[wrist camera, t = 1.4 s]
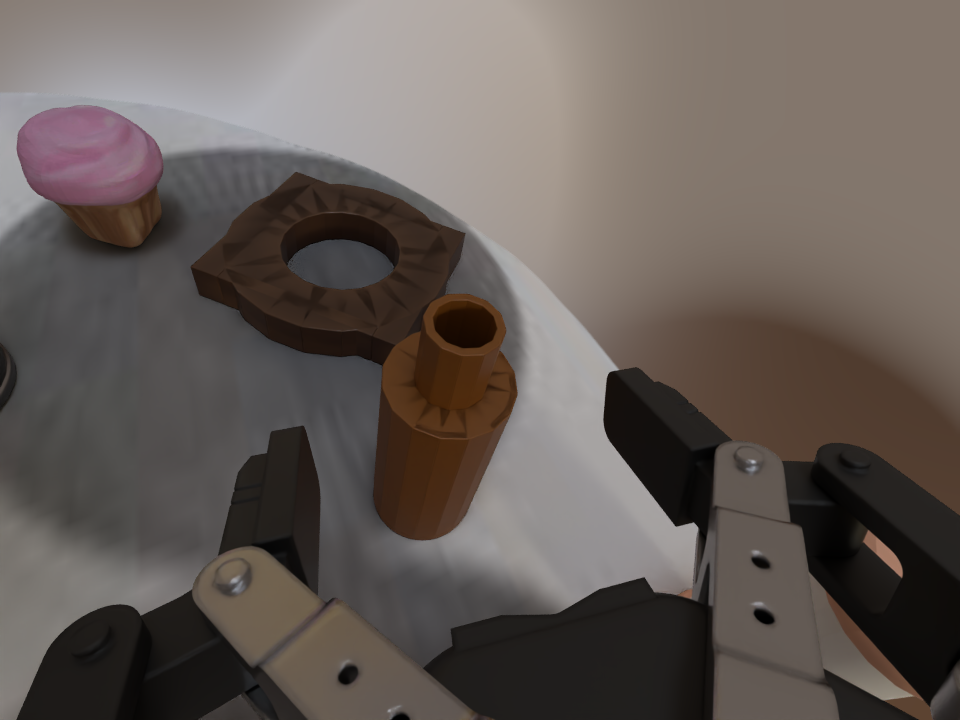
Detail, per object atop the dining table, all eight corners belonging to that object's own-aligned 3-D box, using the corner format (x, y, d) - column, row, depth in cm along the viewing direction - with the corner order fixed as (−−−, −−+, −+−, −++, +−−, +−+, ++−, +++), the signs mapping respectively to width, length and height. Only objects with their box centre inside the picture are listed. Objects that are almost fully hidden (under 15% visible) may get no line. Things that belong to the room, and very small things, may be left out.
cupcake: (157, 273, 41) (112, 160, 34) (38, 256, 40) (-37, 135, 32) (197, 207, 47) (166, 97, 39) (93, 190, 46) (41, 73, 38)
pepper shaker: (731, 775, 28) (1159, 786, 13) (614, 682, 30) (876, 598, 15) (762, 652, 32) (1111, 555, 17) (659, 577, 34) (897, 431, 19)
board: (180, 305, 40) (169, 276, 38) (301, 188, 51) (299, 161, 49) (395, 387, 39) (398, 364, 37) (470, 251, 50) (476, 226, 48)
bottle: (356, 518, 32) (358, 349, 19) (397, 436, 36) (422, 251, 23) (450, 555, 32) (518, 410, 19) (481, 469, 36) (554, 300, 23)
